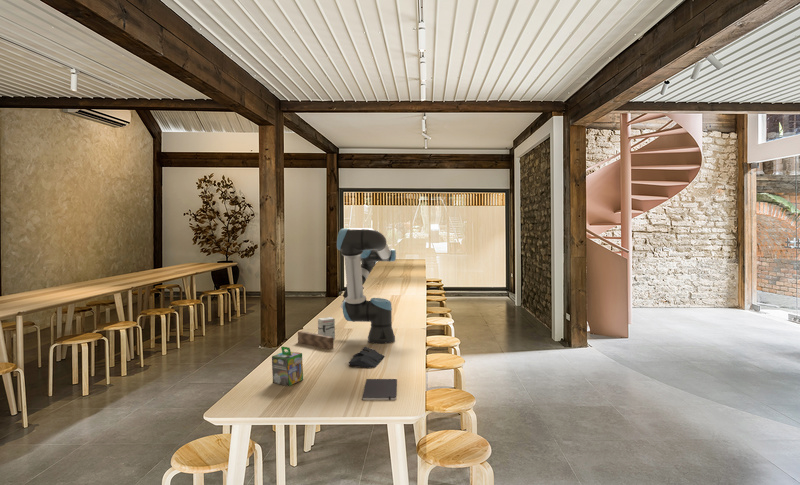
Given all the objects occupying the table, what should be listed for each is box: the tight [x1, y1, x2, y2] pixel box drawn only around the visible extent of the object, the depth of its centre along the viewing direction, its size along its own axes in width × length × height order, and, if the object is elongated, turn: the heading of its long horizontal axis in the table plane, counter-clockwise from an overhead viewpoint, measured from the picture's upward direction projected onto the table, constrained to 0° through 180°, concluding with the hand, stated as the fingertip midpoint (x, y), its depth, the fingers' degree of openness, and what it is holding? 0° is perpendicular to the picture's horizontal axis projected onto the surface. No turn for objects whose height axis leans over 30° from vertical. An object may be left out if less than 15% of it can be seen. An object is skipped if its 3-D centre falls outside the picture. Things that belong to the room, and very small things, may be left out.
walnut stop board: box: [297, 330, 334, 350], centre depth 260 cm, size 25×2×6 cm, turn 53°
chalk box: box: [271, 346, 304, 387], centre depth 201 cm, size 9×9×15 cm
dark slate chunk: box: [348, 346, 385, 369], centre depth 230 cm, size 15×22×5 cm
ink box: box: [317, 316, 336, 340], centre depth 274 cm, size 8×5×12 cm, turn 123°
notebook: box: [361, 378, 398, 401], centre depth 190 cm, size 13×2×21 cm
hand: (342, 307), depth 284 cm, fingers closed
